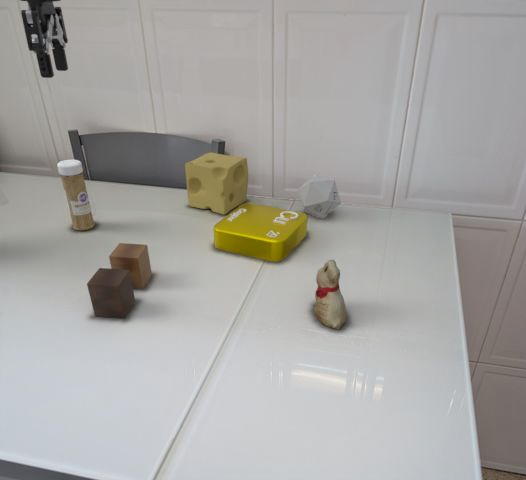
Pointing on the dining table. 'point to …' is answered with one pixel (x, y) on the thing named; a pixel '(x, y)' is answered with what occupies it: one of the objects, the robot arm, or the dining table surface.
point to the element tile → (260, 231)
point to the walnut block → (111, 293)
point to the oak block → (133, 262)
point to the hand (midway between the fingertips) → (55, 73)
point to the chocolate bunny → (329, 296)
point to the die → (319, 196)
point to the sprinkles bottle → (76, 194)
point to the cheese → (217, 182)
